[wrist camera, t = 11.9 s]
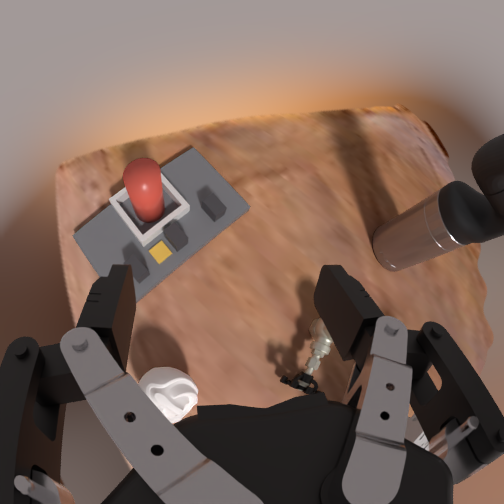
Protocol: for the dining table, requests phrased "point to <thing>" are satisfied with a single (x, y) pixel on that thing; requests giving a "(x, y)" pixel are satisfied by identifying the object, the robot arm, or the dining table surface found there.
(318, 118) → the dining table surface
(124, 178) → the cap
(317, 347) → the valve
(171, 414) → the white folded ball
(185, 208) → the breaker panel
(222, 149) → the dining table surface
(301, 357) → the dining table surface
